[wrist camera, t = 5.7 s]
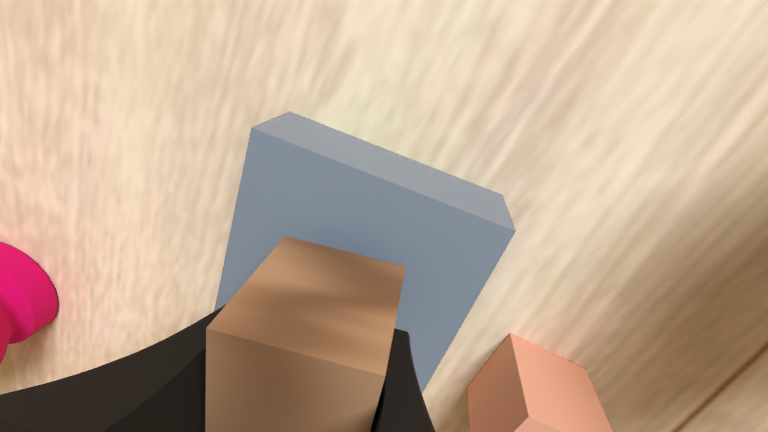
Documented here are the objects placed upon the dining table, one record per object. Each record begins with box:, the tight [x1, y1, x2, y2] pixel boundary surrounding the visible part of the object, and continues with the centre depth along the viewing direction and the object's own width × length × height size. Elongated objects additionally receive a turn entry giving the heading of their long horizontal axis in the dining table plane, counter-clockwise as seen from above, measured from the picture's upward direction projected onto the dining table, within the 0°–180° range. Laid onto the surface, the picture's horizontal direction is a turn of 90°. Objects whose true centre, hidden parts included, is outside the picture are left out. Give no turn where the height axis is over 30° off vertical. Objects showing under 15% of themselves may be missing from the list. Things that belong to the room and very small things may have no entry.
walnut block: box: [205, 236, 406, 432], centre depth 12 cm, size 4×4×5 cm
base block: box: [215, 112, 515, 393], centre depth 18 cm, size 10×10×4 cm
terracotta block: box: [467, 333, 613, 432], centre depth 19 cm, size 4×4×5 cm
